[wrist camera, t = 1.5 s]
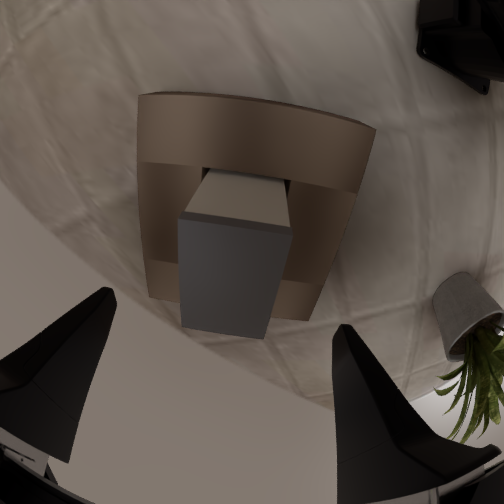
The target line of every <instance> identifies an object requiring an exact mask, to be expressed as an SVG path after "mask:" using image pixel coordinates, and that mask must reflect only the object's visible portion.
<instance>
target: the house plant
mask: <svg viewBox="0 0 504 504" xmlns="http://www.w3.org/2000/svg"><path fill="white" fill-rule="evenodd" d="M433 306H434V310H435V313H436V317H437V320H438V324H439V328H440V332H441V336H442V340H443V345H444V349H445V354H446V358H447V360H448V361H450V362H459V361H463V360H464V363H463V365H462V366H460V367H459V368H458V369H456V370H454V371H453V372H451V373H449V374H447V375H444V376H440V377H439V376H437V377H439V378H441V379H443V380H450V379H452V378H454V377H455V376H457V375H458V374H459V373H460V372H461V371H462V375H461V377H462V378H461V382H460V386H459V389H458V392H457V394H456V395H455V399H454V401H453V403H452V405H451V407H450V409H449V410H448V411H447V412H449V411H450V410H451V409H453V407H454V406H455V405H456V404H457V402H458V400H459V399H460V397H461V396H462V395H461V394H462V392H463V389H464V386H465V380H466V375H467V369H468V377H467V385H466V392H465V393H464V394H463V395H465V400H464V404H463V408H462V411H461V415H460V417H459V420H458V422H457V424H456V426H455V428H454V430H453V431H452V433H451V434H450V436H449V437H447V438H446V439H449V438H450V437H452V436H453V435H454V434H455V433H456V431H457V430H458V429H459V427H460V425H461V423H463V422H462V421H463V419H464V418H465V417H466V415H465V413H466V414H467V412H466V409H467V404H468V399H469V393H471V392H472V393H473V390H474V388H475V386H476V396H475V405H474V410H473V414H472V417H471V421H470V424H469V426H468V429H467V431H466V433H465V434H464V436H463V438H462V440H461V442H460V443H461V444H463V443H465V441H466V440H467V439H468V438H469V436H470V434H471V433H473V432H474V431H475V429H476V428H477V427H478V426H479V425H480V422H481V420H482V417H483V414H484V429H483V432H482V434H483V433H484V432H485V430H486V429H487V426H488V424H489V416H490V419H491V420H492V421H493V422H495V423H496V424H499V423H500V418H501V417H500V412H499V404H498V398H499V400H500V401H501V403H502V404H503V406H504V392H503V390H502V388H501V384H502V381H503V377H502V375H503V376H504V335H503V336H501V335H498V334H499V333H500V331H501V330H502V331H504V328H503V326H504V310H503V309H502V308H501V307H500V306H499V304H498V303H497V302H496V301H495V300H494V299H493V298H492V297H491V296H490V295H489V294H488V293H487V292H486V290H485V289H484V288H483V287H482V286H481V285H480V284H479V283H478V282H477V281H476V280H475V279H474V278H473V277H472V276H471V275H470V274H469V273H466V272H460V273H457V274H455V275H453V276H451V277H450V278H449V279H447V280H446V281H445V282H444V283H443V284H441V285H440V286H439V288H438V289H437V291H436V292H435V294H434V297H433ZM471 374H472V375H471ZM458 382H459V381H458ZM458 382H457V383H456V384H454V385H453V386H451V387H449V388H447V389H444V390H436V389H435V388H434V390H435V391H436V393H437V394H438V395H440V396H443V395H446V394H448V393H449V392H450V391H452V390H453V389H454V387H455V386H456V385H457V384H458ZM471 396H472V394H471ZM497 396H498V397H497ZM470 401H471V397H470ZM470 401H469V404H470ZM468 408H469V405H468ZM467 410H468V409H467ZM447 412H445V414H446V413H447ZM464 416H465V417H464ZM478 417H479V418H478ZM477 420H478V423H477ZM476 423H477V425H476ZM475 425H476V427H475ZM458 431H459V430H458ZM472 431H473V432H472ZM457 433H458V432H457ZM457 433H456V435H457ZM482 434H481V435H482ZM456 435H455V436H456ZM481 435H480V436H481ZM455 436H454V438H455ZM480 436H479V437H480ZM454 438H453V439H454ZM453 439H452V440H453Z"/></svg>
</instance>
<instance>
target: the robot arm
mask: <svg viewBox="0 0 504 504" xmlns="http://www.w3.org/2000/svg"><path fill="white" fill-rule="evenodd" d="M418 25H419V28H420V30H419V37H418V44H417V52H418V54H419V56H420V57H422V58H423V59H425V60H427V61H429V62H431V63H433V64H434V65H436V66H438V67H440V68H442V69H443V70H445V71H447V72H448V73H450V74H452V75H453V76H455V77H456V78H458V79H459V80H461V81H463V82H464V83H466V84H467V85H469V86H470V87H471V88H473V89H474V90H476V91H477V92H479V93H480V94H483V95H487V94H488V91H489V85H490V80H495V81H499V82H504V0H420V8H419V19H418ZM423 49H425V50H426V52H427V54H424V52H423ZM482 86H483V90H482ZM116 307H117V301H116V298H115V295H114V291H113V289H112V288H109V287H102V288H100V289H99V290H98V291H96V292H95V293H93V294H92V295H90V296H89V297H88V298H86V299H85V300H83V301H82V302H81V303H79V304H78V305H76V306H75V307H74V308H72V309H71V310H70V311H68V312H67V313H65V314H64V315H63V316H62V317H60V318H59V319H57V320H56V321H55V322H53V323H52V324H51V325H49V326H48V327H47V328H45V329H44V330H43V331H42V333H41V332H40V333H39V334H37V335H36V336H35V337H34V338H32V339H31V340H29V341H28V342H27V343H25V344H24V345H22V346H21V347H20V348H18V349H16V350H15V351H14V352H12V353H10V354H9V355H7V356H6V357H4V358H3V359H1V360H0V504H95V503H92V502H90V501H88V500H85V499H84V498H81V497H79V496H77V495H75V494H73V493H71V492H69V491H67V490H66V489H64V488H62V487H60V486H58V483H57V481H56V479H55V477H54V475H53V473H52V471H51V469H50V467H49V465H48V463H47V461H48V458H49V455H50V456H52V457H54V458H56V459H59V460H61V461H63V462H65V463H69V460H70V455H71V451H72V447H73V442H74V439H75V435H76V431H77V428H78V422H79V420H80V417H81V413H82V410H83V406H84V403H85V400H86V397H87V394H88V391H89V388H90V385H91V382H92V379H93V376H94V373H95V371H96V368H97V365H98V362H99V360H100V357H101V354H102V352H103V349H104V346H105V344H106V341H107V338H108V335H109V331H110V328H111V325H112V321H113V318H114V314H115V311H116ZM332 382H333V394H334V407H335V423H336V442H337V464H338V465H337V504H504V460H502V461H500V462H498V463H497V464H495V465H493V466H491V467H489V468H486V469H484V464H485V463H487V462H489V461H490V460H492V459H494V458H495V457H497V456H498V455H500V454H501V453H502V451H501V450H500V449H499V448H498V447H497V446H495V445H492V444H489V445H488V446H486V447H484V448H475V447H471V446H467V445H464V444H461V443H458V442H455V441H452V440H449V439H446V438H443V437H441V436H439V435H437V434H436V433H435V432H434V431H433V430H432V429H431V428H430V427H429V426H428V425H427V424H426V422H425V421H424V420H423V419H422V418H421V417H420V415H419V414H418V413H417V412H416V411H415V410H414V408H413V407H412V406H411V405H410V404H409V402H408V401H407V400H406V398H405V397H404V396H403V394H402V393H401V391H400V390H399V389H398V387H397V386H396V385H395V383H394V382H393V380H392V379H391V378H390V376H389V375H388V374H387V372H386V371H385V369H384V368H383V367H382V365H381V364H380V363H379V361H378V360H377V359H376V357H375V356H374V355H373V353H372V352H371V351H370V349H369V348H368V347H367V345H366V344H365V343H364V341H363V340H362V339H361V337H360V336H359V335H358V333H357V332H356V331H355V329H354V328H353V327H352V326H351V325H349V324H341V325H340V326H339V328H338V329H337V331H336V333H335V334H334V336H333V340H332Z"/></svg>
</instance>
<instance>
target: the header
mask: <svg viewBox="0 0 504 504" xmlns="http://www.w3.org/2000/svg"><path fill="white" fill-rule="evenodd" d="M375 134H376V129H374V128H372V127H370V126H368V125H366V124H364V123H362V122H360V121H357V120H354V119H350V118H347V117H343V116H340V115H336V114H332V113H328V112H324V111H320V110H316V109H311V108H307V107H302V106H297V105H293V104H287V103H282V102H276V101H270V100H264V99H257V98H250V97H242V96H233V95H223V94H211V93H195V92H154V93H148V94H142V95H139V97H138V117H137V180H138V201H139V216H140V228H141V239H142V248H143V257H144V265H145V273H146V280H147V286H148V293H149V297H151V298H156V299H161V300H166V301H171V302H177V303H180V291H179V267H178V217H179V216H180V214H181V212H182V211H185V209H186V207H187V206H188V204H189V202H190V201H191V199H192V197H193V196H194V194H195V192H196V191H197V189H198V187H199V186H200V184H201V182H202V181H203V179H204V178H205V176H206V174H207V173H208V171H209V170H210V168H215V169H223V170H230V171H238V172H245V173H251V174H258V175H264V176H270V177H276V178H282V179H284V185H285V192H286V199H287V206H288V214H289V222H290V227H292V231H293V238H292V242H291V246H290V249H289V253H288V257H287V260H286V264H285V267H284V271H283V275H282V278H281V282H280V285H279V289H278V292H277V296H276V299H275V303H274V306H273V309H272V313H271V316H270V317H275V318H283V319H292V320H301V321H309V318H310V316H311V314H312V312H313V309H314V307H315V305H316V302H317V300H318V298H319V295H320V293H321V291H322V288H323V286H324V284H325V281H326V279H327V276H328V274H329V271H330V269H331V266H332V264H333V261H334V259H335V256H336V253H337V251H338V248H339V246H340V243H341V240H342V237H343V235H344V232H345V229H346V226H347V224H348V221H349V218H350V215H351V212H352V209H353V206H354V203H355V200H356V197H357V194H358V191H359V188H360V185H361V182H362V179H363V175H364V172H365V169H366V165H367V162H368V159H369V155H370V152H371V148H372V145H373V141H374V137H375Z"/></svg>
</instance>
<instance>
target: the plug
mask: <svg viewBox="0 0 504 504" xmlns="http://www.w3.org/2000/svg"><path fill="white" fill-rule="evenodd" d="M292 238H293V231H292V227H290V222H289V214H288V206H287V199H286V192H285V185H284V179H282V178H276V177H270V176H264V175H258V174H251V173H245V172H238V171H230V170H223V169H215V168H210V170H209V171H208V173H207V174H206V176H205V178H204V179H203V181H202V182H201V184H200V186H199V187H198V189H197V191H196V192H195V194H194V196H193V197H192V199H191V201H190V202H189V204H188V206H187V207H186V209H185V211H182V212H181V214H180V216H179V217H178V267H179V291H180V309H181V323H182V327H185V328H190V329H196V330H202V331H208V332H214V333H220V334H227V335H234V336H241V337H248V338H256V339H264V336H265V333H266V329H267V326H268V323H269V319H270V316H271V313H272V309H273V306H274V303H275V299H276V296H277V292H278V289H279V285H280V282H281V278H282V275H283V271H284V267H285V264H286V260H287V257H288V253H289V249H290V246H291V242H292Z"/></svg>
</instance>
